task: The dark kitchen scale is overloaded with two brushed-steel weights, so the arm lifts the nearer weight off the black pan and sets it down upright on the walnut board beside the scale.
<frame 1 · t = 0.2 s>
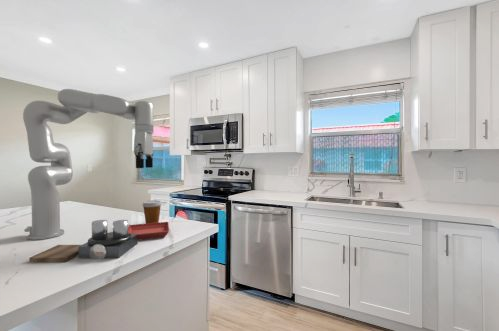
hand: (144, 167, 105), 31 cm above the counter, tool pointing down, fingers open, 9 cm apart
plant saucer: (148, 235, 108), on the counter
steel weight a: (99, 237, 88), point 5 cm above the counter, touching scale
steel weight b: (120, 237, 88), point 5 cm above the counter, touching scale
scale: (110, 250, 88), on the counter
walnut board: (61, 254, 84), on the counter
disposable coffee cup: (152, 224, 125), on the counter
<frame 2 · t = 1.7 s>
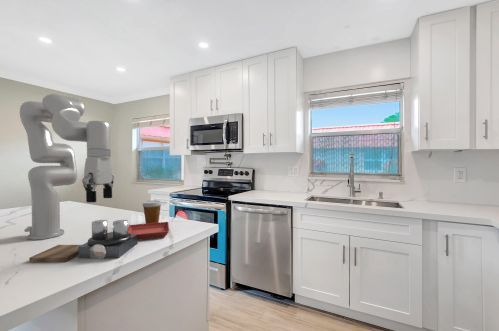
hand: (100, 200, 87), 19 cm above the counter, tool pointing down, fingers open, 9 cm apart
nothing on the counter moved.
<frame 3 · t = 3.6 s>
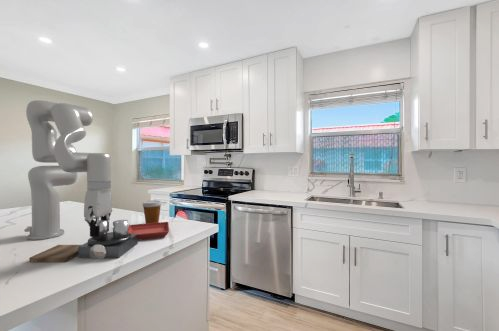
hand: (99, 233, 88), 6 cm above the counter, tool pointing down, fingers closed on steel weight a, 5 cm apart
steel weight a: (99, 237, 88), point 5 cm above the counter, touching gripper, scale
everything else where it was.
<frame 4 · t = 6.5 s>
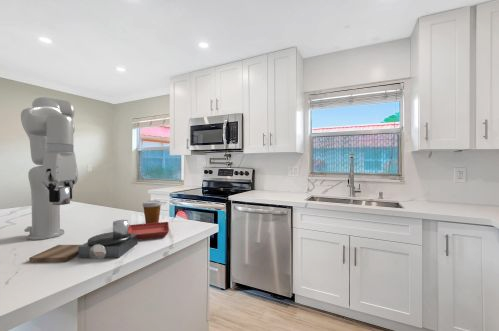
hand: (61, 200, 83), 20 cm above the counter, tool pointing down, fingers closed on steel weight a, 5 cm apart
steel weight a: (61, 203, 83), point 18 cm above the counter, touching gripper
everything else where it was.
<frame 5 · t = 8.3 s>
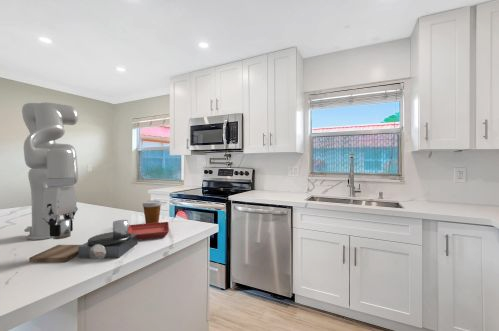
hand: (61, 233, 83), 8 cm above the counter, tool pointing down, fingers closed on steel weight a, 5 cm apart
steel weight a: (61, 237, 83), point 6 cm above the counter, touching gripper
everything else where it was.
when the fingers open (4 cm above the counter, at t = 9.5 s): steel weight a drops 1 cm, resting on walnut board.
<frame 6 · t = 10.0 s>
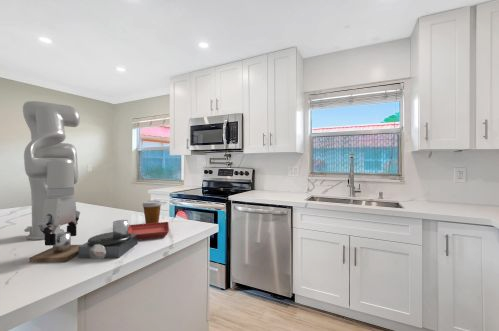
hand: (61, 240, 83), 5 cm above the counter, tool pointing down, fingers open, 9 cm apart
steel weight a: (62, 250, 84), point 2 cm above the counter, touching walnut board
everything else where it was.
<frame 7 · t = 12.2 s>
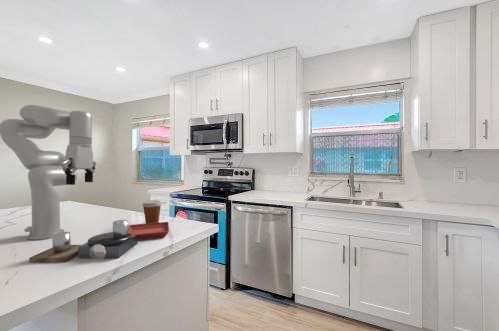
hand: (80, 183, 96), 25 cm above the counter, tool pointing down, fingers open, 9 cm apart
nothing on the counter moved.
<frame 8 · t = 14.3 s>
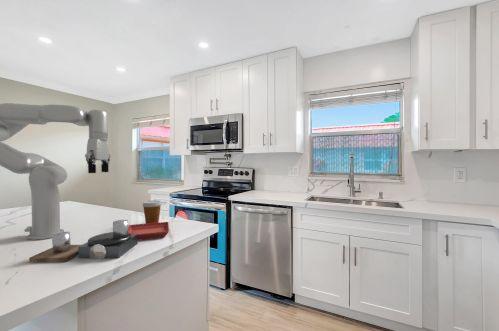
hand: (98, 172, 111), 28 cm above the counter, tool pointing down, fingers open, 9 cm apart
nothing on the counter moved.
at the end: steel weight a inside the target area on the walnut board (0.2 cm from its centre), point 1.6 cm above the walnut board's base; steel weight a tilted 2°; steel weight b inside the target area on the scale (3.9 cm from its centre), point 5.0 cm above the scale's base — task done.
